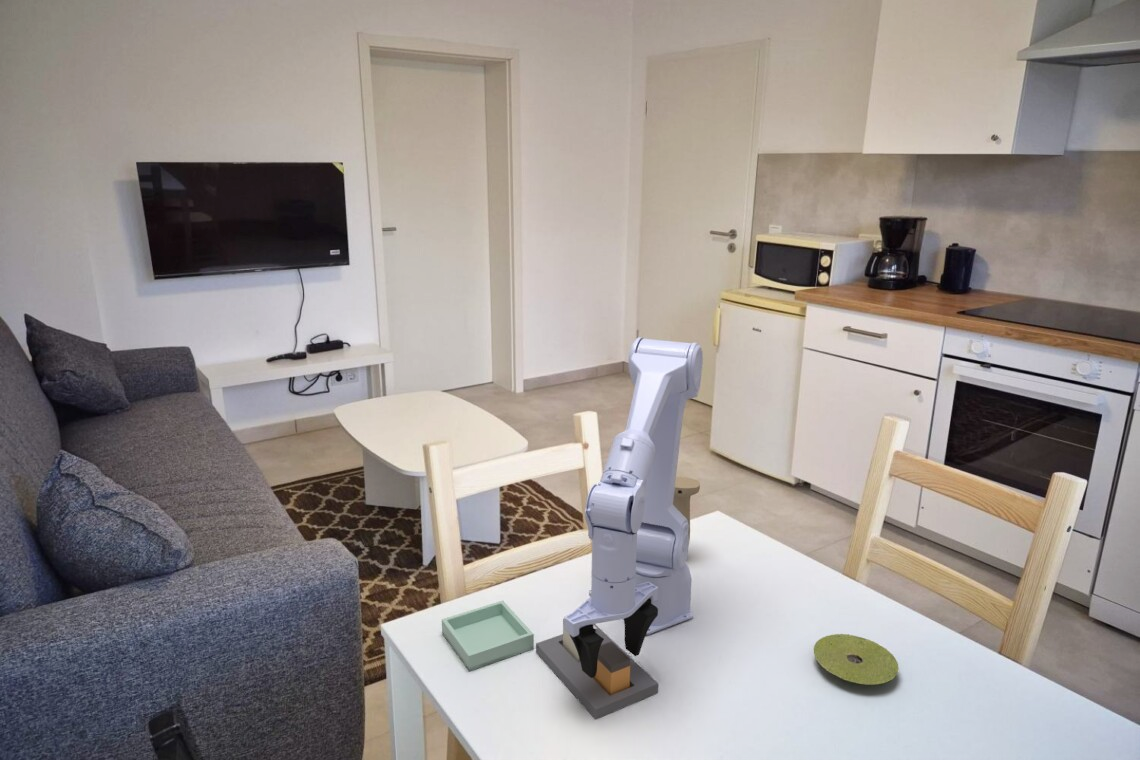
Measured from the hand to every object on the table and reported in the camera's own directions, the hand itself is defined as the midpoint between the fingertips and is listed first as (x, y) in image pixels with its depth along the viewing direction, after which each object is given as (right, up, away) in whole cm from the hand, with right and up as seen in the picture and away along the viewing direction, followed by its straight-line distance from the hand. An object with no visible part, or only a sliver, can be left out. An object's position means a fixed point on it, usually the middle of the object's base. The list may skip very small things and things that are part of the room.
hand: (611, 662), depth 100 cm
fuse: (-4, -2, +8) cm, 9 cm away
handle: (+14, +5, +35) cm, 38 cm away
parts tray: (-18, -1, +11) cm, 21 cm away
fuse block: (-2, -3, +4) cm, 6 cm away
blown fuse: (0, -4, +1) cm, 4 cm away
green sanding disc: (+35, -3, +6) cm, 35 cm away
